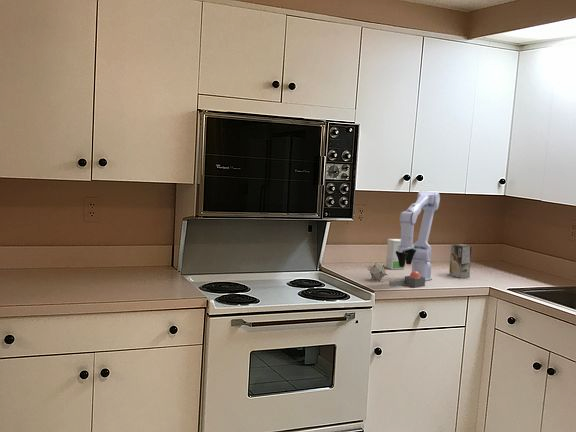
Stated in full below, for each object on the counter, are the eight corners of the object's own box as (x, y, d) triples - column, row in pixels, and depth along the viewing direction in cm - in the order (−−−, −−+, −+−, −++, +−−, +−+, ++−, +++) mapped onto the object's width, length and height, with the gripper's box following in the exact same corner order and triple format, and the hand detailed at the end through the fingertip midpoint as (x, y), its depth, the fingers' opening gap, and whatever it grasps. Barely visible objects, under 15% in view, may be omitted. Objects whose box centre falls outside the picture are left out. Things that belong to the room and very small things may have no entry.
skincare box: (391, 269, 343) (393, 240, 341) (385, 267, 349) (386, 238, 347) (405, 269, 346) (406, 240, 344) (398, 266, 352) (400, 238, 350)
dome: (414, 280, 312) (415, 269, 311) (422, 282, 308) (423, 271, 307) (407, 281, 309) (407, 270, 308) (415, 283, 305) (415, 272, 304)
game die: (375, 288, 315) (369, 273, 310) (369, 278, 323) (363, 264, 317) (392, 280, 315) (385, 265, 310) (385, 270, 323) (379, 255, 317)
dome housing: (414, 283, 313) (414, 274, 313) (424, 286, 308) (425, 277, 307) (404, 284, 309) (404, 276, 309) (414, 287, 304) (415, 279, 303)
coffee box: (470, 277, 332) (472, 246, 330) (460, 278, 329) (462, 246, 327) (457, 273, 340) (460, 243, 338) (448, 274, 337) (450, 243, 335)
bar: (402, 284, 309) (402, 279, 309) (404, 284, 308) (404, 279, 308) (388, 286, 304) (389, 281, 304) (390, 286, 303) (391, 281, 303)
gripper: (405, 234, 313) (403, 262, 315) (392, 237, 301) (390, 266, 303) (419, 236, 309) (417, 264, 311) (406, 239, 297) (404, 268, 299)
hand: (405, 265), depth 307 cm, fingers open, 7 cm apart
